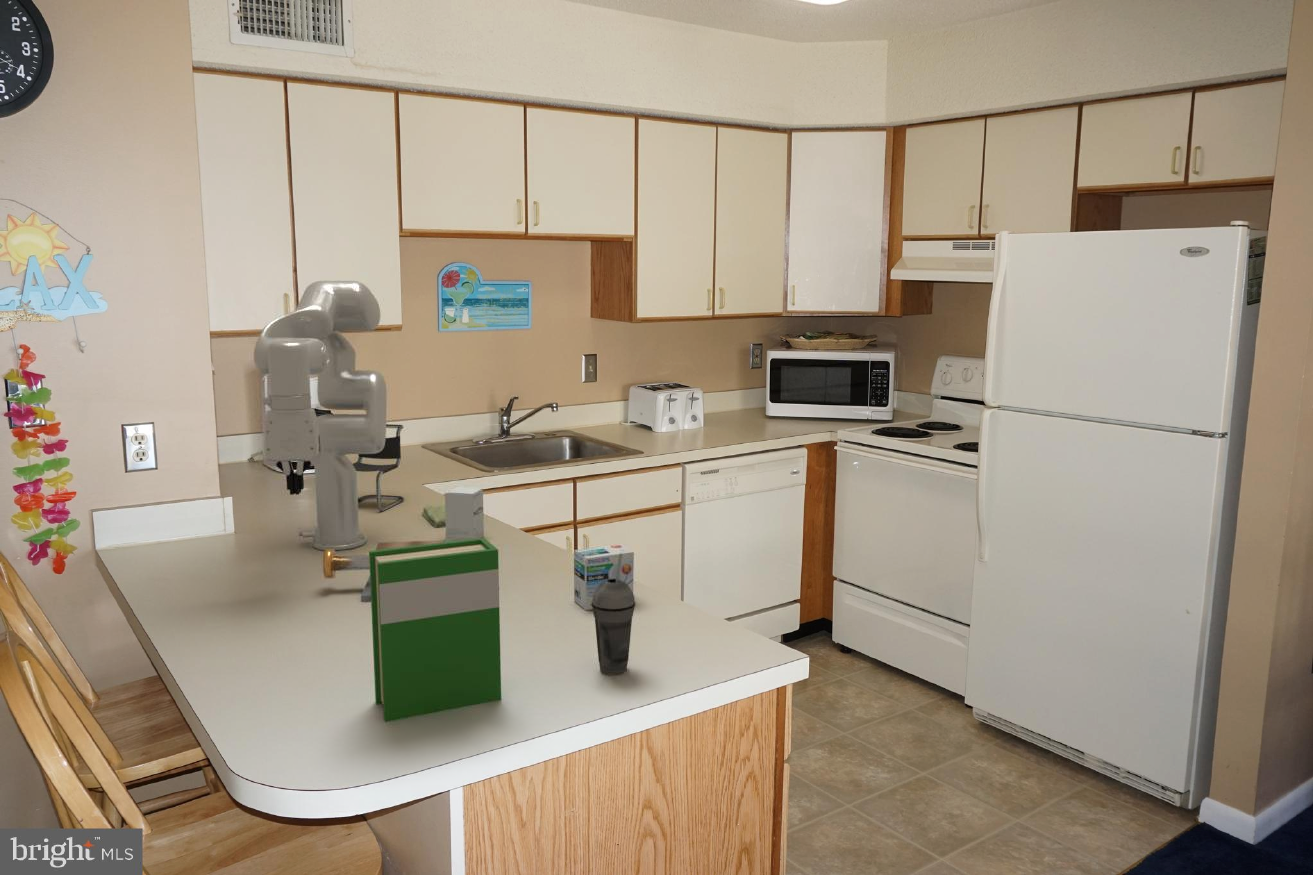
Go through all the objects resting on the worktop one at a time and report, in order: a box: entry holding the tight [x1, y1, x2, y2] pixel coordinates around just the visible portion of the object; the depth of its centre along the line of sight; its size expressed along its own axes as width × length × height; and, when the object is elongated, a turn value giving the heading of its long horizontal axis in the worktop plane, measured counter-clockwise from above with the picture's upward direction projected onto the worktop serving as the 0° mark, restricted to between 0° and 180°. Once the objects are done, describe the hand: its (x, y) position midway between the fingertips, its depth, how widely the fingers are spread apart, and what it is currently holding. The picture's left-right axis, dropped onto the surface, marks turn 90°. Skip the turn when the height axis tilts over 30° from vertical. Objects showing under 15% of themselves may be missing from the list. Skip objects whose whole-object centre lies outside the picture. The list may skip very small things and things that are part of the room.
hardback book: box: [368, 537, 502, 723], centre depth 148 cm, size 18×7×24 cm, turn 116°
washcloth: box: [421, 504, 446, 528], centre depth 261 cm, size 13×18×3 cm
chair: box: [352, 423, 404, 512], centre depth 273 cm, size 13×17×22 cm
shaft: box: [322, 549, 370, 580], centre depth 202 cm, size 20×6×6 cm, turn 99°
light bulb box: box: [573, 543, 635, 611], centre depth 194 cm, size 11×7×11 cm, turn 117°
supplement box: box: [444, 486, 485, 542], centre depth 239 cm, size 7×7×13 cm
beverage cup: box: [591, 553, 636, 676], centre depth 160 cm, size 7×7×20 cm
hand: (295, 493), depth 197 cm, fingers closed
